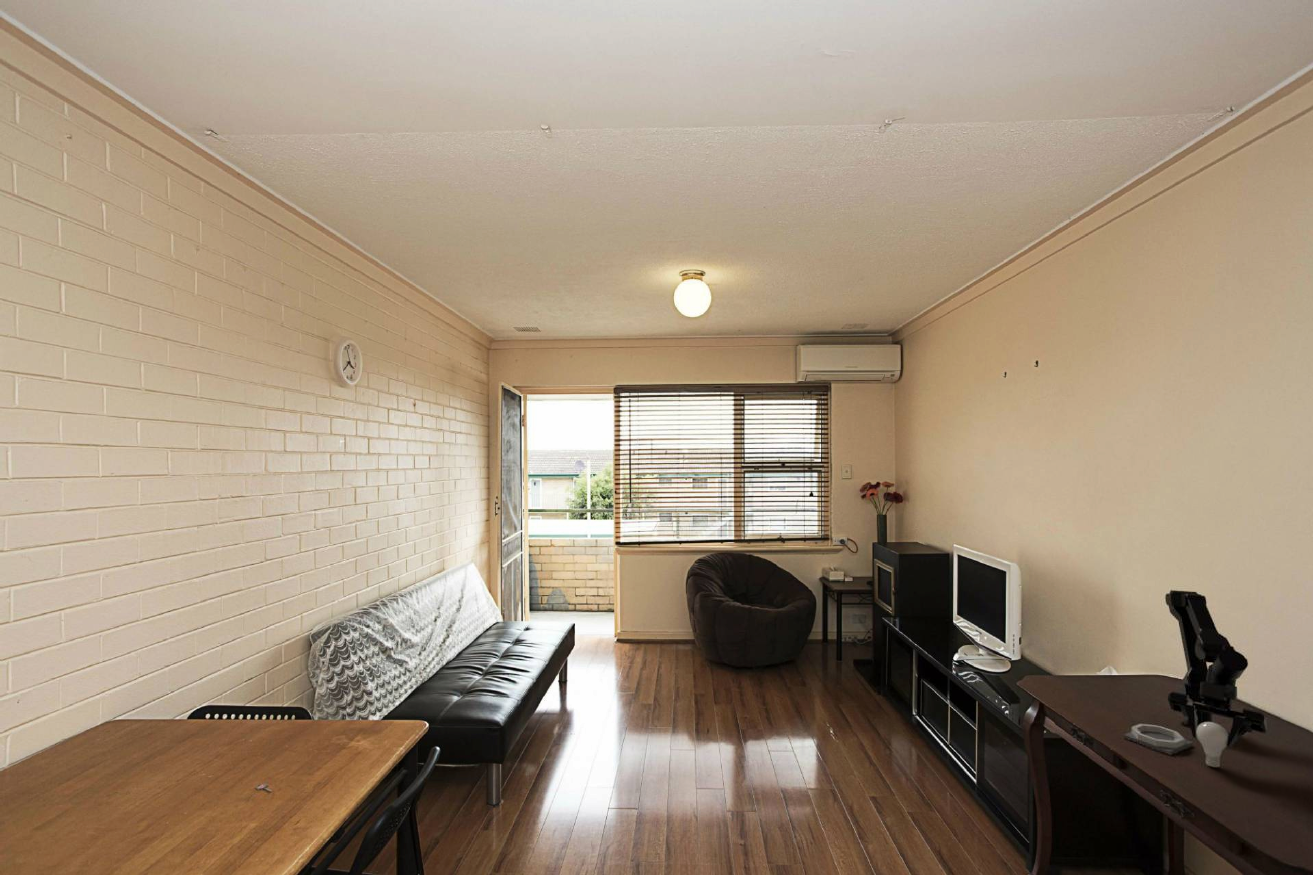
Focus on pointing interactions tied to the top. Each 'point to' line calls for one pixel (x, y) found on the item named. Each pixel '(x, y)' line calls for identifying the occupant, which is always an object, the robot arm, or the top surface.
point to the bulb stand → (1158, 738)
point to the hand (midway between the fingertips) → (1211, 742)
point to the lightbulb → (1212, 741)
